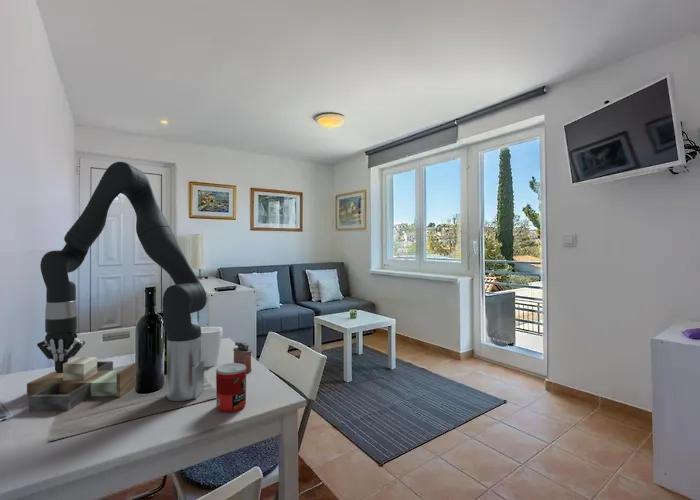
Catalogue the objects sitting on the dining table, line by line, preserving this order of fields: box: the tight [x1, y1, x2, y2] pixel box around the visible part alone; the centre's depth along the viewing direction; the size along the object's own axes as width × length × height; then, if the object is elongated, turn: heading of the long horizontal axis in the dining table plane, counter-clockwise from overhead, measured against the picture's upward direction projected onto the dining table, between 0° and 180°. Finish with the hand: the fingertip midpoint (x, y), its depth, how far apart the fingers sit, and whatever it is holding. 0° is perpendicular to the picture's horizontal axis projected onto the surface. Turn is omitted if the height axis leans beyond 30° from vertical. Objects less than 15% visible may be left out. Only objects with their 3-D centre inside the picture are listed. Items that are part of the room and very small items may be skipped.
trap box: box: [26, 360, 137, 412], centre depth 109 cm, size 27×28×7 cm
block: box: [63, 356, 98, 381], centre depth 109 cm, size 6×6×5 cm
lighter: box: [232, 341, 253, 374], centre depth 126 cm, size 8×3×10 cm, turn 58°
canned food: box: [215, 362, 247, 414], centre depth 99 cm, size 8×8×11 cm
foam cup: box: [200, 326, 223, 368], centre depth 133 cm, size 10×9×13 cm
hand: (61, 372), depth 109 cm, fingers closed
